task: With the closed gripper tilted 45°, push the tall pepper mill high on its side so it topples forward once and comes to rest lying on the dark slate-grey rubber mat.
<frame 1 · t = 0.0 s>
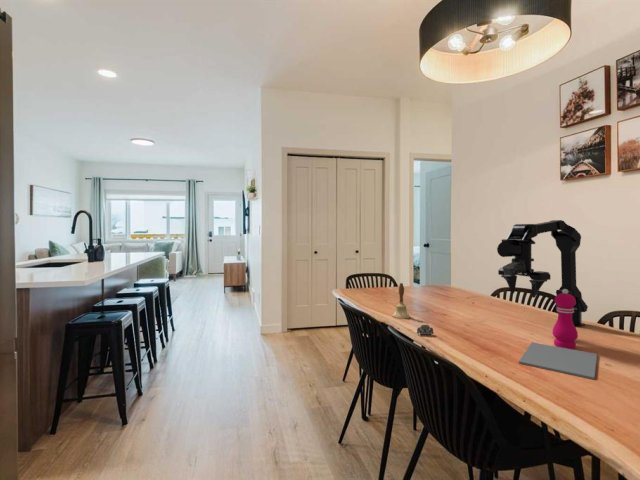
hand: (522, 295, 134), 15 cm above the table, tool pointing down, fingers open, 9 cm apart
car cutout: (435, 336, 133), on the table
pepper mill: (564, 346, 118), on the table
hand bell: (401, 316, 161), on the table
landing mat: (558, 359, 107), on the table
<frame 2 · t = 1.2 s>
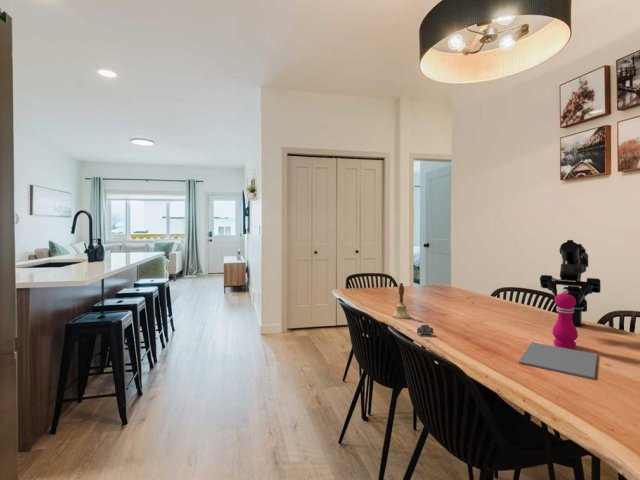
hand: (567, 301, 127), 13 cm above the table, tool tilted 45°, fingers open, 7 cm apart
nothing on the table moved.
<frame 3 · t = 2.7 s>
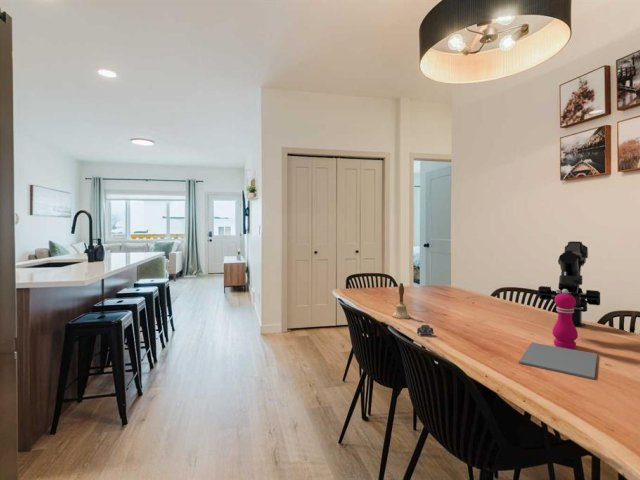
hand: (566, 314, 124), 10 cm above the table, tool tilted 45°, fingers closed
nothing on the table moved.
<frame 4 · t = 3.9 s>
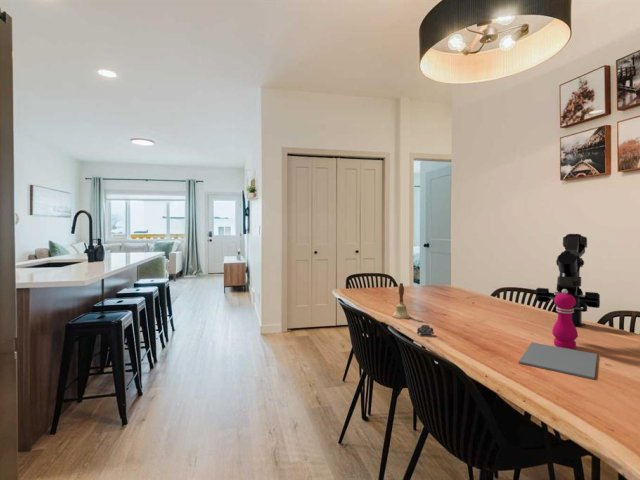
hand: (564, 316, 119), 10 cm above the table, tool tilted 45°, fingers closed
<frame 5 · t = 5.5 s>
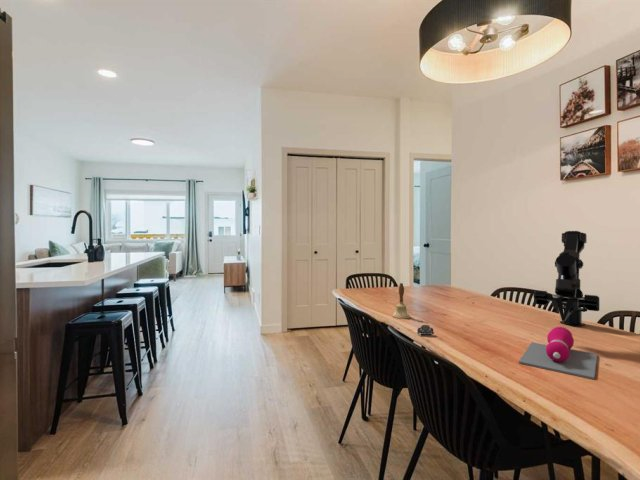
hand: (563, 320, 116), 10 cm above the table, tool tilted 45°, fingers closed
pepper mill: (561, 335, 116), point 4 cm above the table, touching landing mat
everything else where it was.
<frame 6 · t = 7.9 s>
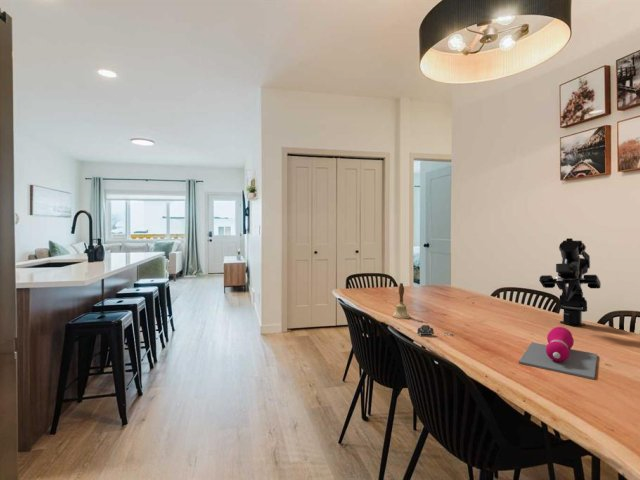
hand: (566, 300, 129), 13 cm above the table, tool tilted 40°, fingers closed
nothing on the table moved.
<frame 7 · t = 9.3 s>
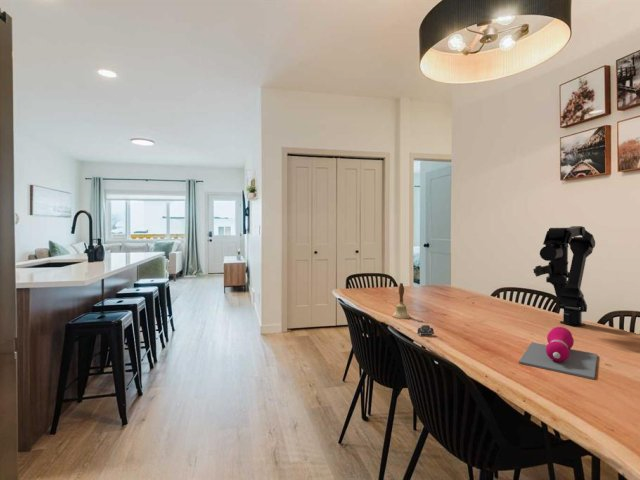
hand: (558, 298, 135), 13 cm above the table, tool pointing down, fingers closed
nothing on the table moved.
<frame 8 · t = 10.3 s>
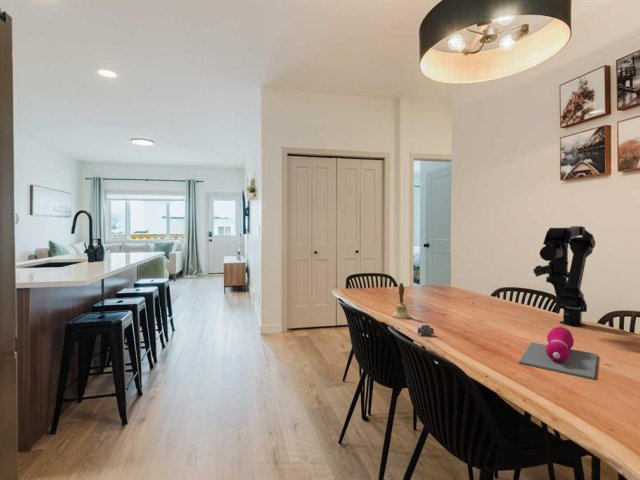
hand: (558, 298, 135), 13 cm above the table, tool pointing down, fingers closed
nothing on the table moved.
at the end: pepper mill tilted 93°; pepper mill touching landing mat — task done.
